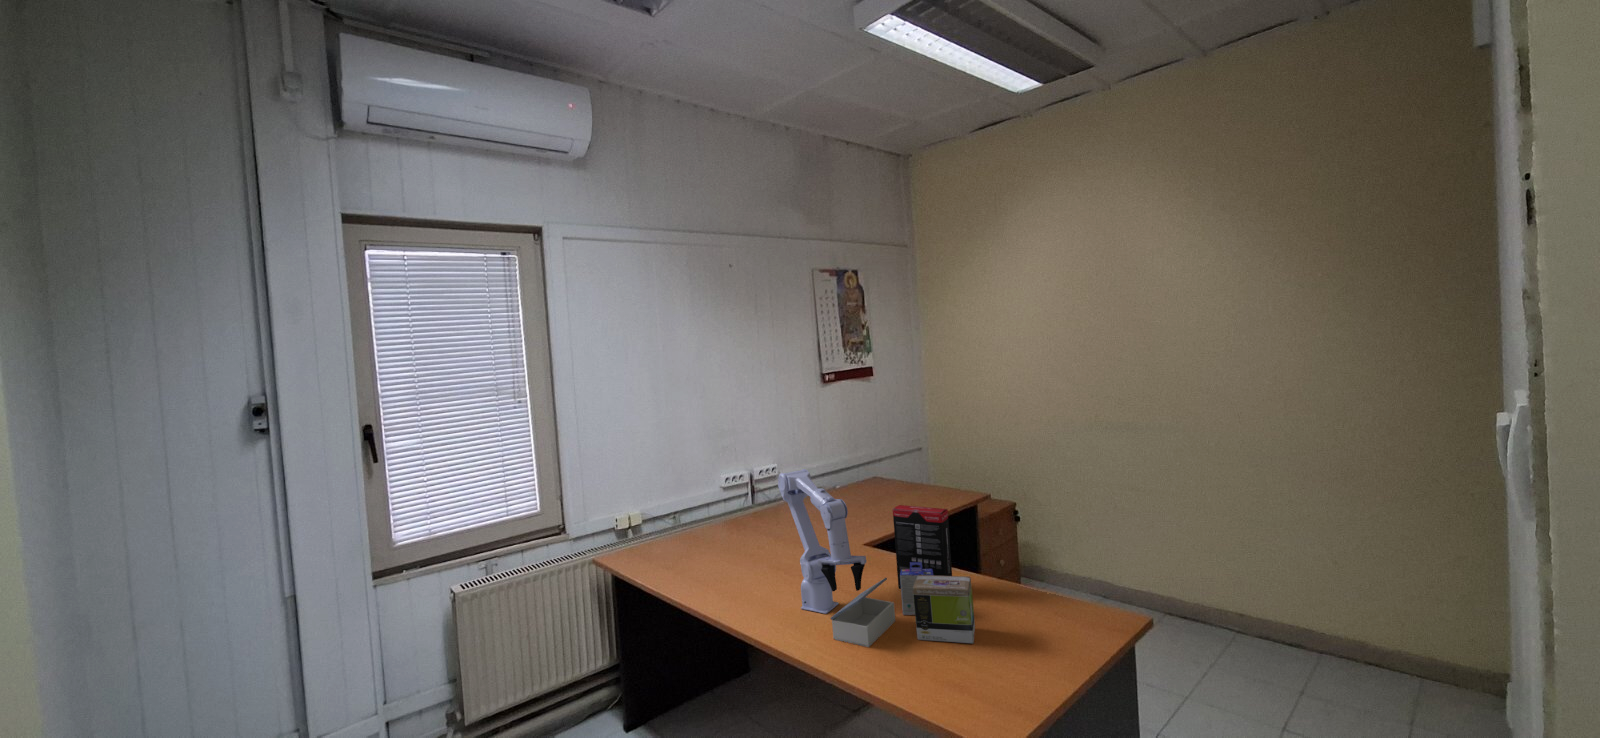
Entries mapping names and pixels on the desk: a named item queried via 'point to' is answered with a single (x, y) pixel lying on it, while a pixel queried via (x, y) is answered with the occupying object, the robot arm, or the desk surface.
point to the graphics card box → (922, 539)
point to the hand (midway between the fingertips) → (846, 590)
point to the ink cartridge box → (910, 585)
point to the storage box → (864, 622)
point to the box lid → (858, 598)
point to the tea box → (944, 608)
